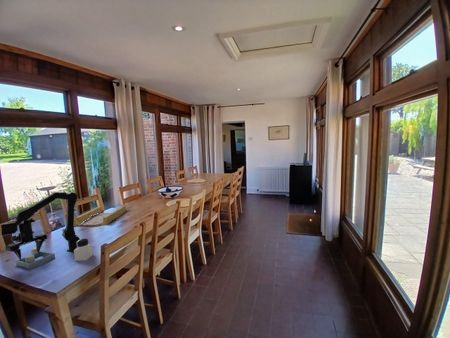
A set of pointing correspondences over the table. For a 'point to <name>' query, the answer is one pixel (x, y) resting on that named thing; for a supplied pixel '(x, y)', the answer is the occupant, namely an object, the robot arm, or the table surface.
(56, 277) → the table surface
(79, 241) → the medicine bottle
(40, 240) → the robot arm
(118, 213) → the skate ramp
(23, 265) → the dish
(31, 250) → the pebble
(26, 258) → the pebble
